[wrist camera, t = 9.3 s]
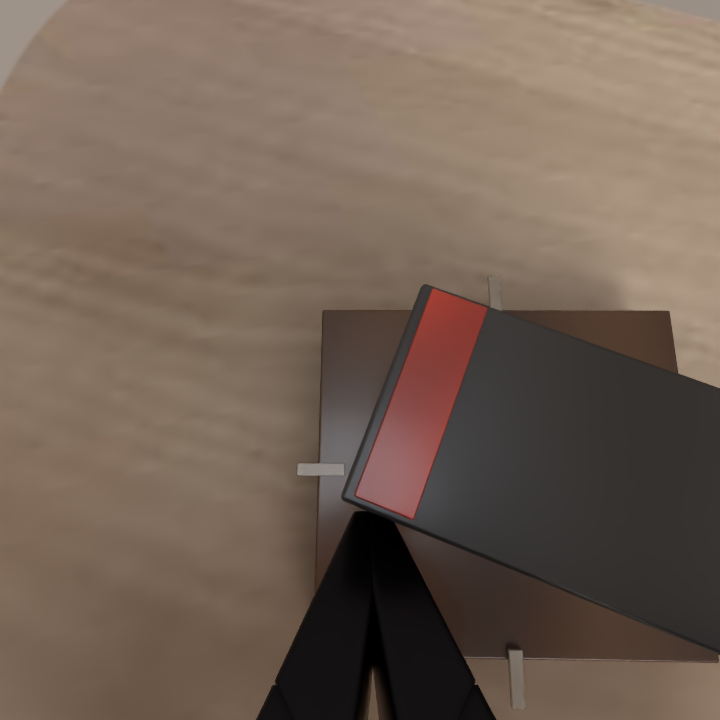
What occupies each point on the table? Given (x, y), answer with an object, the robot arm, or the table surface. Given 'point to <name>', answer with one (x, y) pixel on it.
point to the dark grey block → (551, 462)
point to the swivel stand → (453, 565)
